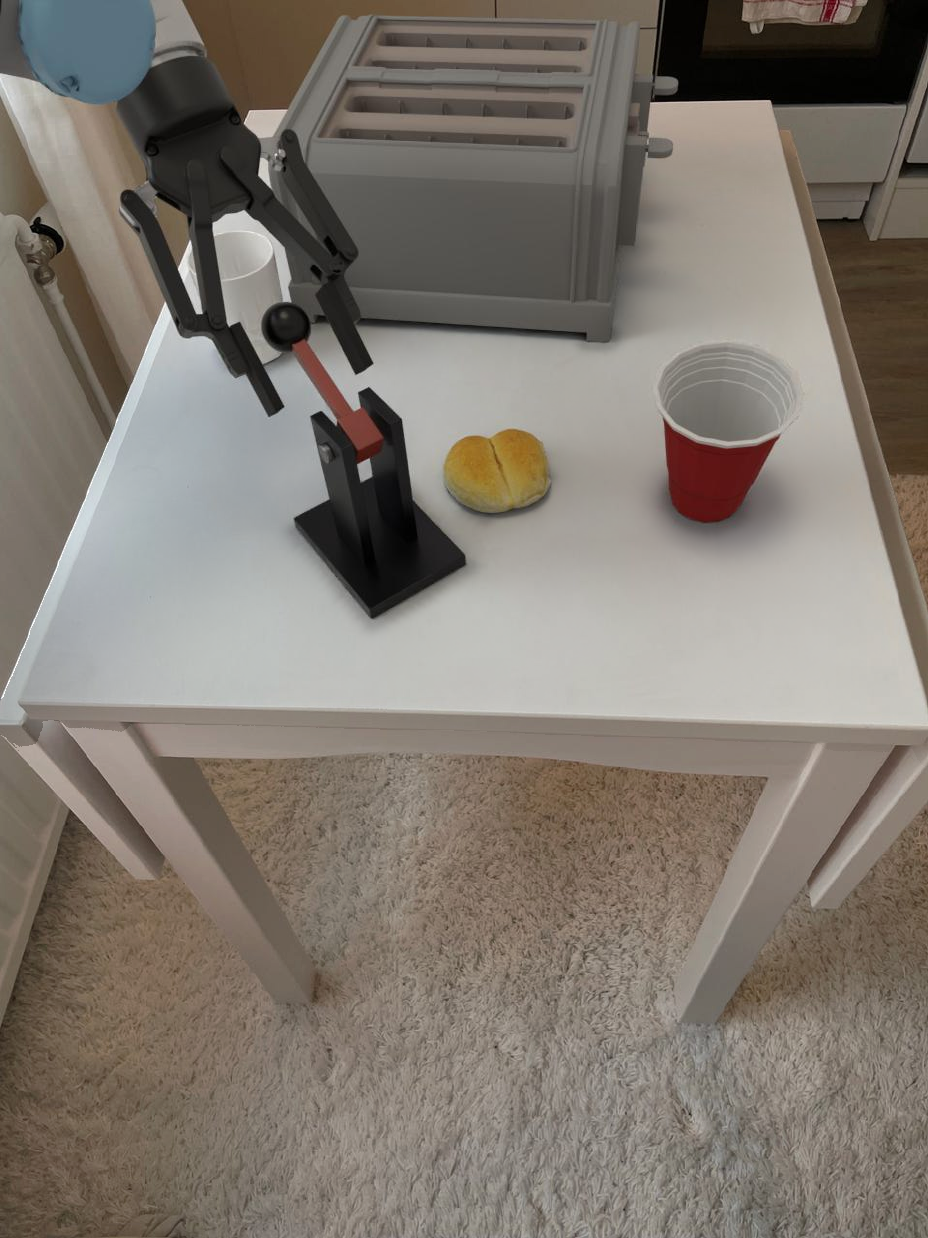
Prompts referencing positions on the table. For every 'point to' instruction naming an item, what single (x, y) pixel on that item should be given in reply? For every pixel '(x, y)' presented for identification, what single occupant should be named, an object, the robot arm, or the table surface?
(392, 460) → the bracket
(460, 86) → the toaster
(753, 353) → the plastic cup
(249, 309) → the white cup
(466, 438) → the bread roll
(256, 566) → the table surface
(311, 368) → the lever
